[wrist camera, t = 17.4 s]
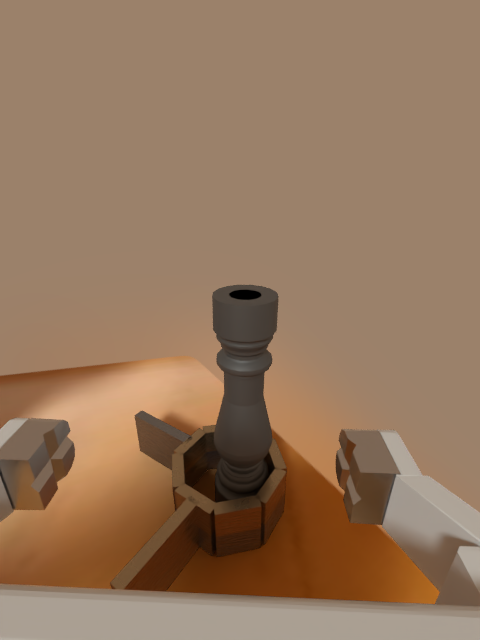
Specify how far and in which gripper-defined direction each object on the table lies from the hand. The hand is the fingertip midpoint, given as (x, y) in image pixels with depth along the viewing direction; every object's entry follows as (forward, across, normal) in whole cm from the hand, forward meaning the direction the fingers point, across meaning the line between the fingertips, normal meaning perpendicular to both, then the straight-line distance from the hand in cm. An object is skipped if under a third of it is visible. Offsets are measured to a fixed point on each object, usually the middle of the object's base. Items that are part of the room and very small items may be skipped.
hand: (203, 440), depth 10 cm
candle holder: (+19, +1, -27) cm, 33 cm away
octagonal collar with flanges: (+18, -6, -27) cm, 33 cm away
